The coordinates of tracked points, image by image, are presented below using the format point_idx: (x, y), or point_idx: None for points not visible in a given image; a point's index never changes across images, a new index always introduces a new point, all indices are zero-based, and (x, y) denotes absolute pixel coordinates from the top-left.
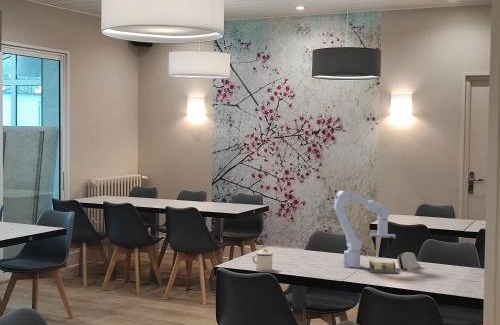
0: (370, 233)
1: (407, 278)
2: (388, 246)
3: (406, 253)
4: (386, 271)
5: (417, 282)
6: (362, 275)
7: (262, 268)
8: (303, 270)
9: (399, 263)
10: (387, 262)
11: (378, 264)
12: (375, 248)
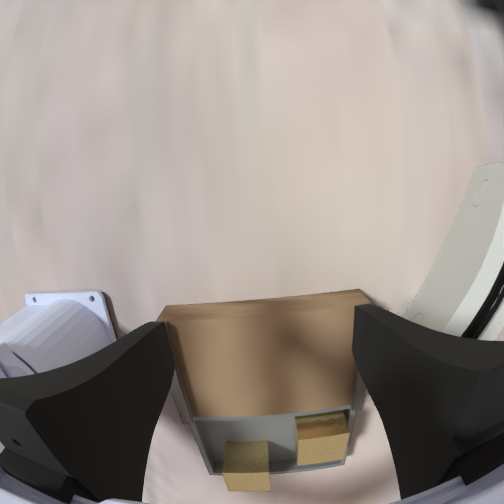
0: None
1: (367, 483)
2: (373, 372)
3: (499, 327)
4: (293, 465)
5: (381, 501)
6: (193, 491)
7: None
8: None
9: None
10: (308, 440)
11: (250, 488)
12: (166, 381)
